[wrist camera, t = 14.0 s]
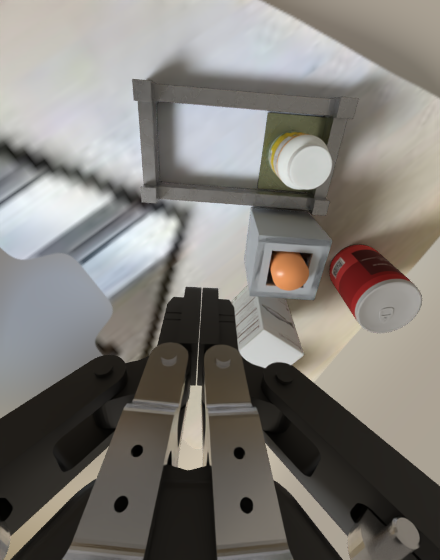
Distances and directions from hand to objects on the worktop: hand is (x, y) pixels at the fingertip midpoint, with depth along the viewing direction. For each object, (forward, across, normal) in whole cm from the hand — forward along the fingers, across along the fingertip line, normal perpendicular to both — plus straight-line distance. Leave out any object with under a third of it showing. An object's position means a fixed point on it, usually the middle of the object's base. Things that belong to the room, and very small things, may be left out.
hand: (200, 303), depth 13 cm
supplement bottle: (+27, -10, -3) cm, 29 cm away
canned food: (+27, -23, +12) cm, 37 cm away
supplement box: (+27, -9, +20) cm, 35 cm away
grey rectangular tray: (+27, -3, -3) cm, 28 cm away
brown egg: (+22, -10, +8) cm, 25 cm away
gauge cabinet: (+27, -10, +8) cm, 30 cm away
